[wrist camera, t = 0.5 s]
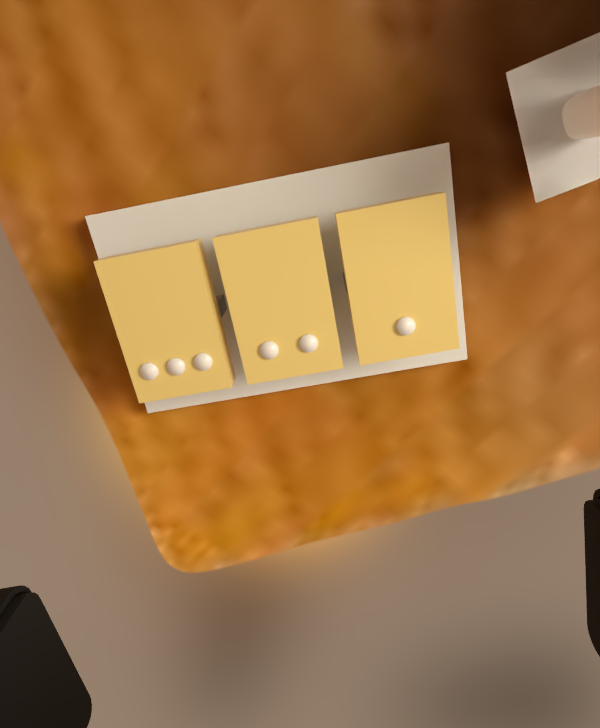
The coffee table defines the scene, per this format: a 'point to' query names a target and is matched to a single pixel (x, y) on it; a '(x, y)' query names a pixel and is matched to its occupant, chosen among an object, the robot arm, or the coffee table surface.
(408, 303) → the key
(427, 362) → the board
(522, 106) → the figurine
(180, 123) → the coffee table surface
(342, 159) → the coffee table surface
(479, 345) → the coffee table surface
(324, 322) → the key
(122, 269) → the key
